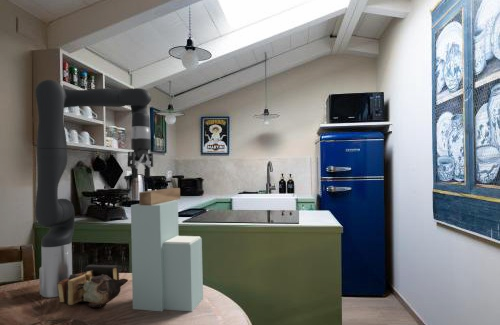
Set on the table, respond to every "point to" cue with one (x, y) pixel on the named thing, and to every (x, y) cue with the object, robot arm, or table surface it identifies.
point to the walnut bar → (159, 196)
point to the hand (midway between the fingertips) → (141, 177)
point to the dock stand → (164, 260)
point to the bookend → (91, 286)
